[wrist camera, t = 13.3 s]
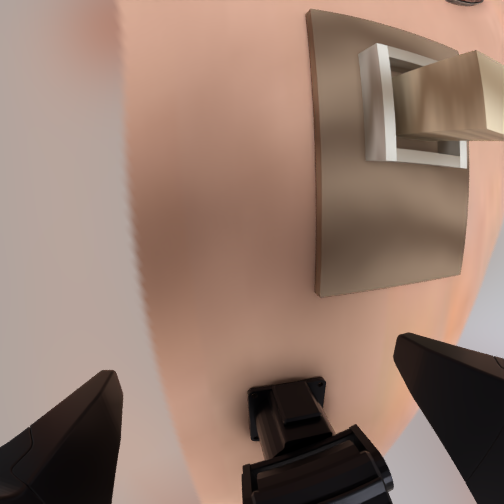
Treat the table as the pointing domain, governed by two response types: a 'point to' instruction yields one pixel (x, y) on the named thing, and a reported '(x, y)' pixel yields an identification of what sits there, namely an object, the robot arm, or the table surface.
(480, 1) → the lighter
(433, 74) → the peg
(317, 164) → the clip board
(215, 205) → the table surface
